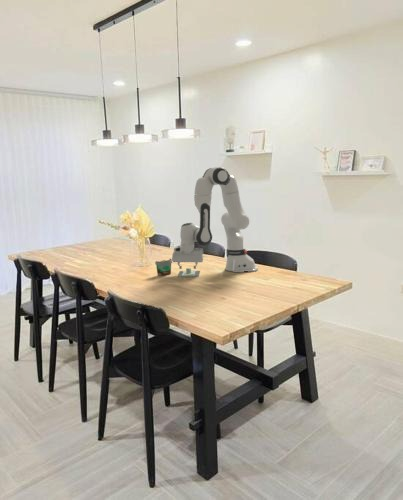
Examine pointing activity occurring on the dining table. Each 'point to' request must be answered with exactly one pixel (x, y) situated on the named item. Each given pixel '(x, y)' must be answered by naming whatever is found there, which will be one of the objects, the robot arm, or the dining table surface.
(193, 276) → the mat
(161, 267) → the food container
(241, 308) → the dining table surface
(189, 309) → the dining table surface
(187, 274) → the lid
